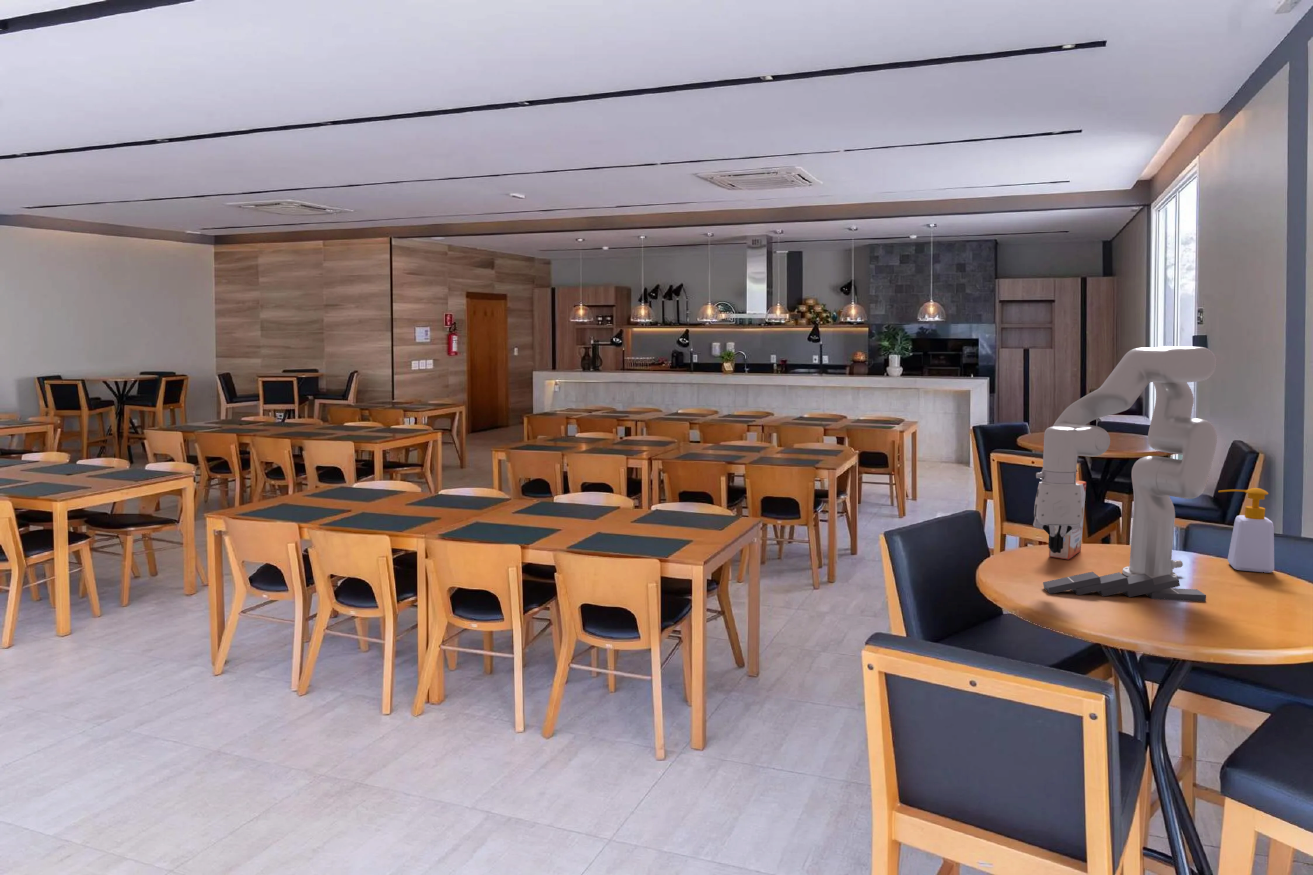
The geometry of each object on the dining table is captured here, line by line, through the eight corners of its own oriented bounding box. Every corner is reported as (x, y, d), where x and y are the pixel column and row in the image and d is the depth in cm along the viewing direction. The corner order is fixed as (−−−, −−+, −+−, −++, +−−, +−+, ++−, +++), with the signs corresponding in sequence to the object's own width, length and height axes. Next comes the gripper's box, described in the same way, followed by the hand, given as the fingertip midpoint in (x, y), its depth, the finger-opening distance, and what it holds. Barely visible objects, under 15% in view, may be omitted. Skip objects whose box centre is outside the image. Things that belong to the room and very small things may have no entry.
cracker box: (1070, 560, 256) (1075, 486, 253) (1047, 557, 259) (1052, 484, 257) (1082, 551, 267) (1087, 480, 264) (1060, 548, 270) (1065, 478, 268)
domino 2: (1076, 588, 221) (1127, 577, 220) (1069, 583, 226) (1119, 572, 225) (1077, 595, 222) (1128, 583, 220) (1070, 589, 227) (1120, 578, 225)
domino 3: (1101, 590, 221) (1152, 578, 219) (1093, 584, 226) (1143, 573, 224) (1103, 596, 221) (1154, 585, 219) (1095, 590, 226) (1145, 579, 224)
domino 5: (1152, 592, 219) (1206, 594, 218) (1144, 586, 224) (1196, 589, 222) (1151, 599, 219) (1205, 601, 218) (1143, 593, 224) (1196, 595, 223)
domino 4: (1127, 590, 220) (1178, 579, 219) (1118, 585, 225) (1168, 574, 224) (1129, 597, 220) (1180, 585, 219) (1120, 591, 225) (1170, 580, 224)
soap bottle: (1208, 561, 257) (1214, 483, 254) (1266, 566, 252) (1273, 486, 249) (1215, 569, 248) (1221, 488, 245) (1275, 574, 243) (1282, 492, 240)
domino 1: (1048, 587, 222) (1099, 576, 221) (1042, 582, 227) (1092, 571, 226) (1050, 594, 223) (1101, 583, 221) (1044, 588, 227) (1094, 577, 226)
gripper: (1030, 479, 219) (1027, 554, 221) (1096, 480, 217) (1092, 556, 219) (1022, 474, 226) (1019, 547, 229) (1086, 475, 224) (1082, 548, 227)
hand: (1055, 551), depth 224 cm, fingers closed
